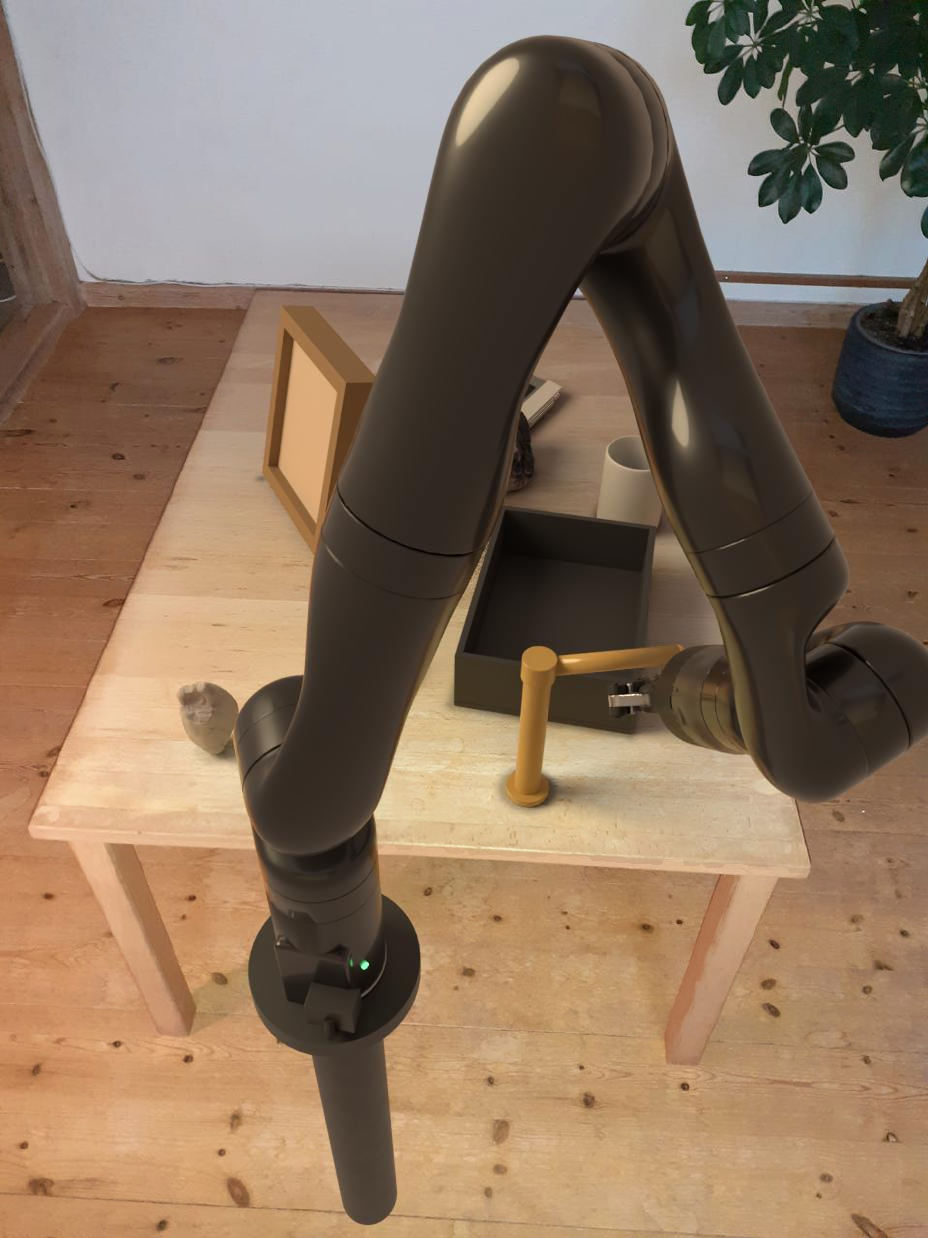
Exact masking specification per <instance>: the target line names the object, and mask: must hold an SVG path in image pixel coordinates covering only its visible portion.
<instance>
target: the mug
mask: <svg viewBox="0 0 928 1238" xmlns="http://www.w3.org/2000/svg"><path fill="white" fill-rule="evenodd" d="M597 504H598V505H597V509H596V518H600V519H608V520H615V521H622V522H630V523H637V524H644V525H652V526H656V530H657V528H658V526H659V524H660V520H661V514H662V510H663V506H662V503H661V501H660V498H659V495H658V492H657V489H656V487H655V484H654V481H653V478H652V475H651V472H650V468H649V465H648V462H647V458H646V455H645V451H644V447H643V444H642V440H641V436H640V435H626V436H621V437H618V438H615V439H613V440H612V441H610V443H609V444H608V445H607V447H606V449H605V454H604V460H603V469H602V476H601V483H600V491H599V498H598V503H597Z"/></svg>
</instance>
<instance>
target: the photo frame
mask: <svg viewBox="0 0 928 1238" xmlns="http://www.w3.org/2000/svg"><path fill="white" fill-rule="evenodd" d="M278 320H279V321H278V329H277V337H276V348H275V357H274V364H273V374H272V382H271V391H270V399H269V408H268V409H269V410H268V417H267V427H266V434H265V435H266V436H265V443H264V444H265V445H264V451H263V453H264V454H263V462H262V469H261V473H262V475H263V477H264V478H265V480H266V482H267V483H268V484H269V486H270V488H271V489H272V491H273V493H274V494H275V496H276V498H277V499H278V500H279V502H280V503H281V506H282V507H283V509H284V510H285V512H286V513H287V514H288V516H289V518H290V519H291V521H292V523H293V524H294V526H295V527H296V529H297V530H298V532H299V534H300V535H301V537H302V539H303V540H304V541H305V543H306V544H307V546H308V547H309V549H310V551H311V553H312V554H313V555H314V554H315V550H316V545H317V540H318V536H319V532H320V529H321V525H322V522H323V519H324V517H325V514H326V511H327V508H328V505H329V502H330V499H331V496H332V493H333V490H334V488H335V485H336V482H337V479H338V476H339V473H340V471H341V468H342V465H343V463H344V461H345V458H346V456H347V453H348V451H349V448H350V446H351V443H352V441H353V438H354V435H355V432H356V430H357V427H358V424H359V421H360V418H361V415H362V412H363V410H364V407H365V404H366V401H367V398H368V396H369V393H370V390H371V387H372V385H373V382H374V379H375V377H376V374H374V373H373V372H372V371H371V370H370V368H369V367H368V366H367V365H366V364H365V362H363V361H362V360H361V358H360V357H359V356H358V355H357V354H356V353H355V351H354V350H353V349H352V348H351V347H350V346H349V345H348V344H347V342H346V341H344V339H343V338H342V337H341V336H340V335H339V333H338V332H337V331H336V330H335V329H334V328H333V327H332V326H331V325H330V323H329V322H327V320H326V319H325V318H324V317H323V316H322V314H321V313H320V312H319V311H318V310H317V309H316V308H315V307H314V305H313V306H312V305H290V304H289V305H285V304H281V305H280V312H279V319H278Z"/></svg>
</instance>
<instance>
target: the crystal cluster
mask: <svg viewBox="0 0 928 1238" xmlns="http://www.w3.org/2000/svg"><path fill="white" fill-rule="evenodd" d="M531 443H532V436H531V434H530V429H529V423H528V421H527V418H526V416H525V415H524V413H523V412H522V411H521V412H520V417H519V422H518V428H517V434H516V440H515V448H514V455H513V461H512V467H511V473H510V478H509V483H508V487H507V491H506V493H508V492H512V491H517V490H521V489H523V488H524V487H525V486H527V485H528V483H529V482H530V481H531V480H532V479H533V478H534V474H535V466H536V465H535V464H536V463H535V457H534V453H533V448H532V444H531Z"/></svg>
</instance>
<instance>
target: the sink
mask: <svg viewBox="0 0 928 1238" xmlns="http://www.w3.org/2000/svg"><path fill="white" fill-rule="evenodd" d="M656 533H657V529H656V526H652V525H644V524H637V523H630V522H622V521H615V520H608V519H600V518H597V517H592V516H587V515H586V516H584V515H577V514H571V513H563V512H555V511H549V510H541V509H534V508H526V507H520V506H512V505H506V504H505V505H504V504H503V506H502V509H501V512H500V515H499V517H498V520H497V523H496V525H495V528H494V530H493V533H492V535H491V537H490V539H489V541H488V543H487V546H486V551H485V554H484V557H483V561H482V564H481V567H480V569H479V574H478V577H477V581H476V583H475V587H474V590H473V594H472V597H471V600H470V603H469V607H468V610H467V613H466V616H465V621H464V623H463V626H462V630H461V634H460V636H459V640H458V642H457V646H456V650H455V653H454V658H453V659H454V660H453V661H454V662H453V663H454V669H453V670H454V671H453V673H454V674H453V706H457V707H462V708H469V709H475V710H481V711H487V712H493V713H498V714H505V715H509V716H517V717H520V715H521V703H522V691H523V681H522V679H521V663H522V655H523V653H524V652H525V651H526V650H527V649H528V648H531V647H534V646H543V647H547V648H549V649H551V650H552V651H554V652H555V654H556V655H557V656H560V655H571V654H582V653H593V652H604V651H614V650H625V649H636V648H645V640H646V634H647V633H646V631H647V622H648V613H649V603H650V592H651V582H652V576H653V575H652V574H653V573H652V572H653V565H654V555H655V546H656V535H657V534H656ZM642 669H643V668H634V669H623V670H613V671H602V672H592V673H581V674H571V675H560V676H556V679H555V681H554V683H553V684H552V685H551V694H550V702H549V711H548V720H547V722H553V723H559V724H565V725H572V726H576V727H577V726H578V727H584V728H588V729H589V728H590V729H595V730H602V731H607V732H613V733H618V734H619V733H620V734H625V735H631V731H632V726H633V722H634V718H635V717H634V716H635V714H628V715H625V716H621V718H615V717H611V716H610V708H609V700H608V688H607V686H608V685H612V683H622V682H627V681H632V680H634V679H635V678H641V679H640V680H642V671H643V670H642Z"/></svg>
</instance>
